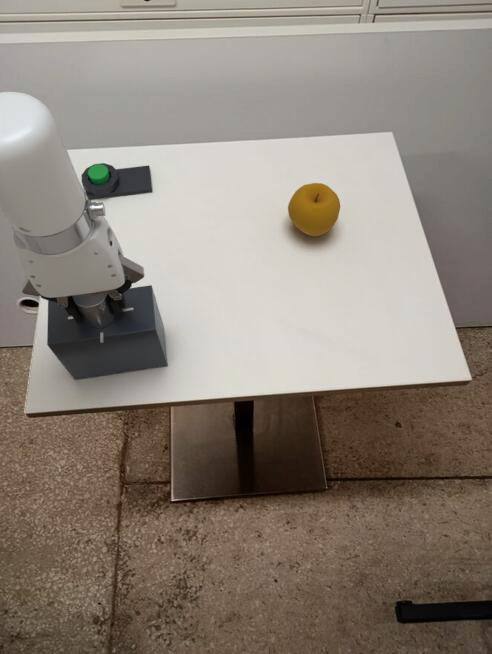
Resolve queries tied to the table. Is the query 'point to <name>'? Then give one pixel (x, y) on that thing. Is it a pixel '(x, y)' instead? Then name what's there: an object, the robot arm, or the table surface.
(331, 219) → the apple
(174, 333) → the table surface
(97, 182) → the button
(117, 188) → the button block
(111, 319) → the program dial
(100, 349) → the dial panel
